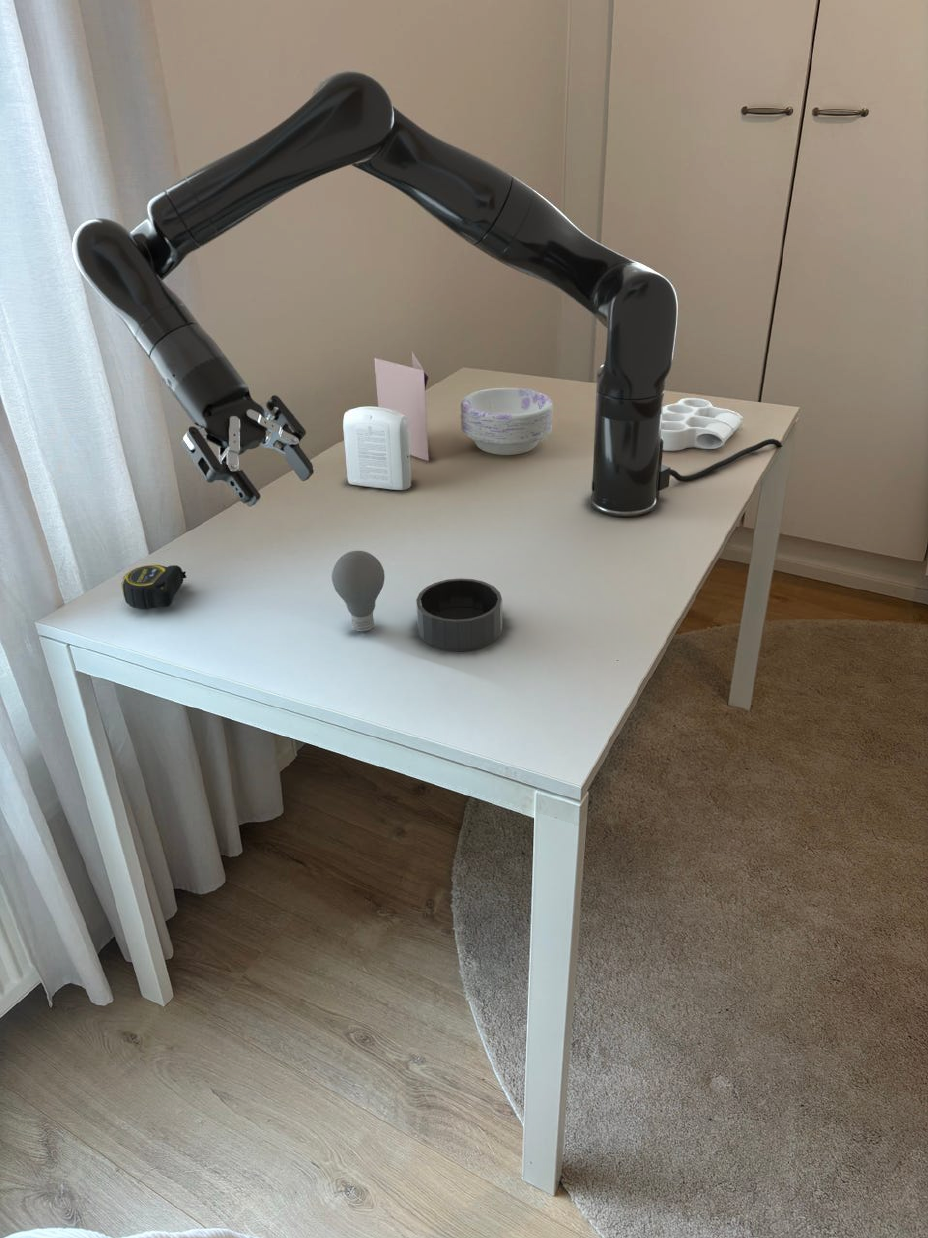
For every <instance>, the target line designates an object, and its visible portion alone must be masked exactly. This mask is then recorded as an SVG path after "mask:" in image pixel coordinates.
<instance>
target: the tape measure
mask: <svg viewBox="0 0 928 1238" xmlns="http://www.w3.org/2000/svg"><path fill="white" fill-rule="evenodd" d="M186 573H187V572H186V571H183V569H182V568H181V566H179V565H177V564H176V565H175V564H174V565H168V566H166V565H165V566H164V565H160V564H148V565H142V566H138V567H135V568H134V569H131V570H129V571H128V572H127V573H126V574H125V575H124V576H123V578H122V580H121V591H122V595H123V598H124V599H123V600H124V601H125V603H126V604H128V606H129V607H131V608H133V609H137V610H144V611H145V610H146V611H147V610H153V609H161V608H167V607H170V606H171V605H172V604H173V603H174V599H175V596H176V595H177V593H178V591H179V590H180V589H181V587H182V585H183V582H184V579H187V575H186Z"/></svg>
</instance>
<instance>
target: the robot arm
mask: <svg viewBox="0 0 928 1238" xmlns="http://www.w3.org/2000/svg"><path fill="white" fill-rule="evenodd" d="M348 166H351V167H354V168H355V169H358V170H360V171H362V172H364V173H365V174H368V175H370V176H373V177H374V178H376V179H378V180H379V181H382V182H384V183H385V184H388V185H389V186H391V187H393V188H394V189H396V190H397V191H399V192H401V193H403V194H404V195H406V196H407V197H408V198H410V200H412V201H413V202H414V203H416V204H417V205H418V206H419V207H421V208H422V209H423V210H424V211H425V212H427V213H428V214H429V215H431V216H432V217H433V218H434V219H435V220H436V221H438V222H439V223H441V225H443V226H445V227H446V228H447V229H449V230H450V231H452V232H453V233H454V234H456V235H457V236H458V237H460V238H461V239H463V240H464V241H466V242H467V243H468V244H470V245H471V246H473V247H474V248H476V249H478V250H479V251H481V252H483V253H484V254H486V255H487V256H489V257H491V258H492V259H494V260H495V261H497V262H499V263H501V264H503V265H504V266H507V267H509V268H511V269H513V270H515V271H517V272H519V273H522V274H524V275H526V276H529V277H532V278H535V279H537V280H539V281H542V282H545V283H547V284H549V285H552V286H554V288H557V289H559V290H561V291H562V292H563V293H564V294H566V295H567V296H569V297H570V299H573V300H574V301H575V302H576V303H578V304H579V305H580V306H581V307H583V308H584V309H585V310H586V311H588V312H589V313H590V314H591V315H593V316H594V318H595V319H597V320H598V321H599V322H600V323H601V324H602V325H603V326H604V327H605V328H606V329H607V332H606V333H607V334H606V347H605V359H604V364H602V365H601V366H600V367H599V368H598V370H597V375H596V390H595V391H596V392H595V414H594V416H595V417H594V438H593V459H592V460H593V461H592V462H593V463H592V479H591V496H590V505H591V507H592V508H593V509H595V510H596V511H598V512H599V513H602V514H605V515H608V516H612V517H623V518H624V517H627V518H628V517H638V516H642V515H645V514H648V513H650V512H652V511H653V510H654V509H655V508H656V505H657V501H659V500H660V492H661V491H663V490H665V489H667V488H669V487H670V478H671V477H673V478H674V479H675V480H676V481H678V482H690V481H694V480H698V479H700V478H703V477H704V476H707V475H708V474H710V473H712V472H714V471H716V470H718V469H721V468H723V467H725V466H727V465H729V464H731V463H733V462H735V461H736V460H738V459H739V458H742V457H744V456H746V455H749V454H751V453H753V452H756V451H758V450H760V449H762V448H764V447H766V446H769V445H774V446H775V447H777V448H781V447H783V444H782V442H781V441H780V440H778V439H776V438H768V439H765V440H763V441H760V442H758V443H756V444H754V445H752V446H749V447H746V448H744V449H742V450H740V451H738V452H735V453H734V454H732V455H731V456H729V457H727V458H725V459H722V460H720V461H718V462H716V463H714V464H712V465H710V466H708V467H706V468H704V469H702V470H701V471H698V472H696V473H693V474H688V475H681V474H680V473H679V472H678V471H676V470H675V469H672V468H671V466H668V465H664V464H663V454H664V450H663V439H662V438H661V426H662V414H663V407H664V400H665V399H664V398H665V390H666V389H665V387H666V380H667V377H668V376H669V374H670V372H671V368H672V364H673V358H674V350H675V341H676V334H677V333H676V332H677V325H678V305H679V304H678V297H677V293H676V290H675V288H674V286H673V285H672V283H671V282H670V281H669V280H668V278H666V277H665V276H664V275H662V274H661V273H659V272H657V271H655V270H654V269H653V268H650V267H649V266H646V265H644V264H642V263H640V262H637V261H635V260H633V259H630V258H628V257H626V256H624V255H623V254H621V253H618V252H615V251H614V250H612V249H611V248H608V247H606V246H605V245H603V244H601V243H599V242H598V241H595V240H594V239H592V238H590V236H588V235H587V234H585V233H584V232H583V231H581V230H580V229H579V228H578V227H577V226H576V225H575V224H574V223H573V222H571V220H570V219H569V218H568V217H566V215H565V214H563V212H561V211H560V210H559V209H558V208H557V207H556V206H554V204H552V203H551V202H550V201H549V200H547V199H546V198H545V197H543V195H541V194H540V193H538V192H537V191H536V190H534V189H533V188H531V187H530V186H529V185H527V184H526V183H524V182H522V181H521V180H520V179H518V178H517V177H515V176H514V175H512V174H511V173H510V172H508V171H506V170H504V169H502V168H501V167H499V166H498V165H495V164H494V163H492V162H490V161H488V160H486V159H484V158H482V157H481V156H478V155H476V154H474V153H472V152H469V151H468V150H465V149H463V148H461V147H458V146H456V145H453V144H451V143H449V142H447V141H445V140H442V139H441V138H438V137H436V136H435V135H433V134H431V133H430V132H428V131H427V130H425V129H424V128H422V127H421V126H419V125H418V124H417V123H415V122H414V121H413V120H412V119H410V118H409V117H408V116H407V115H405V114H404V113H403V112H401V111H400V110H398V109H397V107H395V106H394V105H393V103H392V99H391V98H390V95H389V94H388V92H387V90H386V89H385V88H384V86H382V84H381V83H380V82H379V81H378V80H376V79H375V78H374V77H372V76H371V75H368V74H367V73H364V72H360V71H358V70H342V71H338V72H335V73H334V74H331V75H330V76H327V77H326V78H325V79H323V80H322V81H321V82H320V83H319V84H318V85H317V86H316V87H315V89H314V90H313V92H312V94H311V95H310V98H309V99H308V100H307V101H305V102H304V103H303V104H302V105H301V106H300V107H299V108H298V109H296V111H294V112H293V113H292V114H290V115H289V117H287V118H286V119H284V120H283V121H282V122H280V123H279V124H278V125H276V126H275V127H273V128H272V129H269V131H268V132H265V133H264V134H262V135H261V136H259V137H258V138H256V139H253V140H252V141H250V142H249V143H247V144H245V145H243V146H241V147H239V148H237V149H235V150H233V151H231V152H229V153H227V154H224V155H223V156H221V157H219V158H217V159H214V160H213V161H210V162H209V163H207V164H205V165H203V166H202V167H200V168H198V169H196V170H194V171H193V172H191V173H188V175H185V176H184V177H182V178H180V179H179V180H177V181H175V182H174V183H172V184H171V185H169V186H167V187H165V189H163V190H161V191H159V192H158V193H157V194H155V195H154V196H152V198H150V199H149V201H148V203H147V205H146V213H147V217H146V219H144V220H143V221H142V222H141V223H140V224H138V225H137V226H136V227H134V228H133V229H132V230H131V231H129V230H128V229H127V228H126V227H125V226H123V225H122V224H120V223H119V222H117V221H115V220H112V219H109V218H103V217H102V218H92V219H88V220H87V221H85V222H83V223H81V225H80V226H79V227H78V228H77V229H76V231H75V233H74V235H73V239H72V243H71V244H72V246H71V248H72V256H73V260H74V262H75V265H76V267H77V268H78V270H79V271H80V273H81V274H82V276H83V277H84V278H85V280H86V281H87V282H88V284H90V286H91V287H92V289H94V290H95V292H96V293H97V295H99V296H100V297H101V299H102V300H103V301H104V302H105V303H106V304H107V305H108V306H109V308H110V309H111V310H112V311H113V312H114V313H115V314H116V315H117V316H118V317H119V318H120V320H121V321H122V322H123V323H124V325H125V326H126V327H127V329H128V331H129V332H130V334H131V336H132V337H133V339H134V340H135V341H136V343H137V344H138V346H139V347H140V348H141V349H142V351H143V352H144V354H145V356H146V357H147V358H148V359H149V361H150V363H151V364H152V366H153V367H154V369H155V370H156V372H157V374H158V376H159V377H160V380H161V381H162V382H163V383H164V385H165V386H166V388H167V389H168V390H169V392H170V393H171V394H172V396H173V397H174V398H175V400H176V401H177V402H178V404H179V405H180V407H181V408H182V409H183V411H184V412H185V413H186V415H187V416H188V418H189V419H190V420H191V422H192V423H193V424H194V425H195V426H189V427H188V429H187V430H186V432H185V434H184V435H183V437H182V438H181V440H180V443H181V446H182V447H183V448H184V450H185V451H186V453H187V455H188V456H189V457H190V459H191V460H192V461H193V463H194V465H195V466H196V468H197V470H198V471H199V472H200V474H201V475H202V477H203V479H204V480H205V482H207V483H208V484H209V483H210V484H213V483H214V482H215V481H223V482H225V483H227V485H228V486H229V487H230V489H231V490H232V492H233V493H234V494H235V495H236V497H237V499H238V500H239V501H240V502H242V503H243V504H246V505H247V507H252V506H255V505H256V504H257V503H258V502H259V501H260V499H261V494H260V492H259V491H258V489H257V488H256V486H255V485H254V484H253V482H252V481H251V480H250V479H249V477H248V475H247V474H246V473H245V472H244V470H243V469H240V470H239V467H240V466H239V456H240V455H242V454H244V453H245V452H246V451H249V450H254V449H256V448H259V446H260V447H262V448H264V449H267V450H270V449H272V450H274V451H276V452H279V453H280V454H282V455H283V456H284V460H285V461H286V462H287V463H288V465H289V466H290V468H291V469H292V470H293V471H294V473H295V474H296V475H297V477H298V478H299V480H300V481H301V482H305V481H307V480H309V479H310V478H311V476H312V475H314V473H315V470H314V465H313V463H312V462H311V460H310V459H309V457H308V456H307V455H306V453H305V452H304V450H303V449H302V448H301V446H300V442H301V441H302V439H303V438H304V437H305V436H306V435H307V431H306V429H305V427H304V426H303V425H302V424H301V423H300V422H299V420H298V419H297V418H296V417H295V415H294V414H293V413H292V412H291V410H290V409H289V407H288V406H286V404H285V403H284V402H283V400H282V399H281V398H280V397H279V396H278V395H277V394H276V395H275V394H274V395H272V396H271V397H270V398H269V399H268V400H267V401H265V402H264V403H261V404H260V403H258V402H256V401H255V400H254V399H253V397H252V396H251V392H250V389H249V386H248V385H247V383H246V381H245V380H244V379H243V378H242V376H241V374H239V372H238V371H237V370H236V368H235V367H234V366H233V365H234V364H232V362H231V361H230V360H229V359H228V357H227V356H226V354H225V353H224V352H223V350H222V349H221V347H220V346H219V345H218V344H217V342H216V341H215V340H214V339H213V338H212V337H211V335H210V334H209V333H208V332H207V331H206V330H205V329H204V328H203V327H202V325H200V323H199V321H198V320H197V318H195V316H194V315H193V313H192V312H191V311H190V309H189V308H188V306H187V305H186V304H185V303H184V301H183V300H182V299H181V298H180V297H179V296H178V295H177V294H176V292H174V291H173V290H172V289H171V288H170V287H169V286H168V285H167V284H166V283H165V282H164V281H163V280H164V279H166V278H167V276H169V275H170V274H171V273H172V272H173V271H174V270H175V269H176V268H178V267H179V266H180V264H182V262H183V261H184V260H185V259H186V258H187V257H188V256H189V255H191V254H192V253H193V252H196V251H197V250H199V249H201V248H203V247H204V246H206V245H208V244H210V243H211V242H212V241H214V240H216V239H217V238H220V237H221V236H223V235H225V234H226V233H227V232H229V231H231V230H232V229H234V228H235V227H237V226H239V225H240V224H242V223H243V222H245V221H246V220H248V219H249V218H251V217H252V216H253V215H255V214H256V213H258V212H260V211H261V210H263V209H264V208H265V207H267V206H269V205H271V204H272V203H274V202H275V201H276V200H278V199H280V198H281V197H283V196H284V195H287V194H288V193H289V192H291V191H293V190H295V189H297V188H299V187H300V186H303V185H305V184H306V183H307V184H308V182H311V181H313V180H315V179H317V178H320V177H321V176H324V175H326V174H329V173H332V172H334V171H338V170H340V169H343V168H345V167H348ZM196 426H197V427H196ZM198 427H199V428H198ZM267 432H269V434H268V435H267ZM208 442H209V443H211V444H213V445H215V446H217V456H218V458H217V456H216V455H215V453H214V451H213V450H212V448H211V446H210V445H209V443H208Z"/></svg>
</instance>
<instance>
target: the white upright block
mask: <svg viewBox="0 0 928 1238" xmlns="http://www.w3.org/2000/svg"><path fill="white" fill-rule="evenodd" d="M342 428H343V441H344V451H345V461H346V473H347V474H346V475H347V482H348V484H349V485H353V486H359V487H367V488H368V487H369V488H376V489H386V490H394V491H406V490H408V489H409V488H410V487H411V486H412V470H411V469H412V468H411V455H410V447H409V429H408V420H407V417H406V416H405V415H403V414H401V413H399V412H397V411H394V410H391V409H387V408H382V407H378V406H359V407H355V408H350V409H347V411H345V413H344V415H343V421H342Z"/></svg>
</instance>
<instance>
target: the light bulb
mask: <svg viewBox="0 0 928 1238" xmlns="http://www.w3.org/2000/svg"><path fill="white" fill-rule="evenodd" d="M385 579H386V578H385V570H384V567H383V565H382V563H381V562H380V561H379V559H378V558H376V556H374V555H373V554H372V553H370V552H367V551H365V550H352V551H351V550H350V551H348V552H346V553H345V554H343V555H341V556H340V557H339V559H338V560H337V561H336V562H335V564H334V566H333V568H332V571H331V582H332V586H333V588H334V590H335V592H336V593H337V594H338V595H339V597H340V598H341V599H342V601H343V602H344V603H345V604H346V610H347V611H348V613H349V614H350V619H351V627H352V629H353V630H354V631H356V632H367V631H370V630H372V629H373V628H374V626H375V622H374V621H375V619H374V611H375V608H376V600H377V599H378V597H379V595H380V593H381V591H382V589H383V587H384V585H385Z"/></svg>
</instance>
